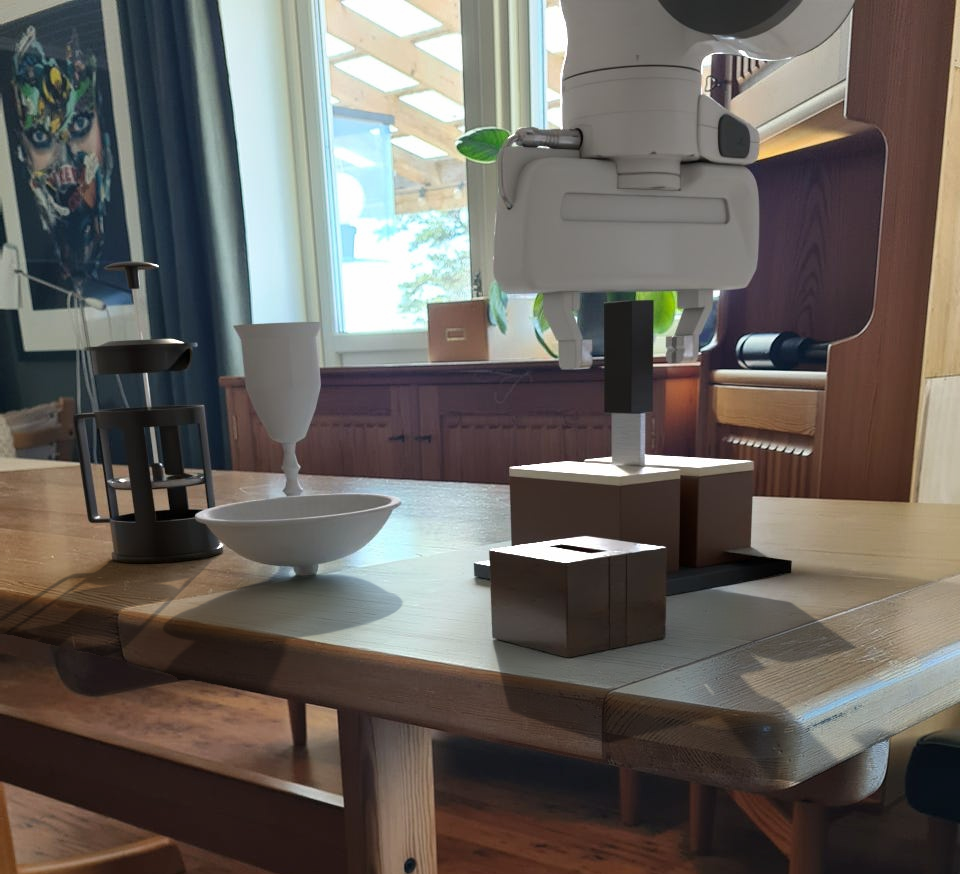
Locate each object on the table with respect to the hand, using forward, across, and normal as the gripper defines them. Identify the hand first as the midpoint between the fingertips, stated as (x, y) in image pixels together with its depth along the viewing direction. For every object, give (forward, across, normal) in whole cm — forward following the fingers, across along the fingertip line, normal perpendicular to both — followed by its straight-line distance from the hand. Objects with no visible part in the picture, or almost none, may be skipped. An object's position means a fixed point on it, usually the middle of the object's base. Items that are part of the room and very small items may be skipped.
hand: (630, 366), depth 86 cm
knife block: (+14, -16, -14) cm, 25 cm away
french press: (+14, -20, +38) cm, 45 cm away
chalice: (+14, -10, +32) cm, 36 cm away
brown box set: (+14, 0, 0) cm, 14 cm away
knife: (+13, 0, 0) cm, 13 cm away
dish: (+14, -16, +19) cm, 29 cm away
